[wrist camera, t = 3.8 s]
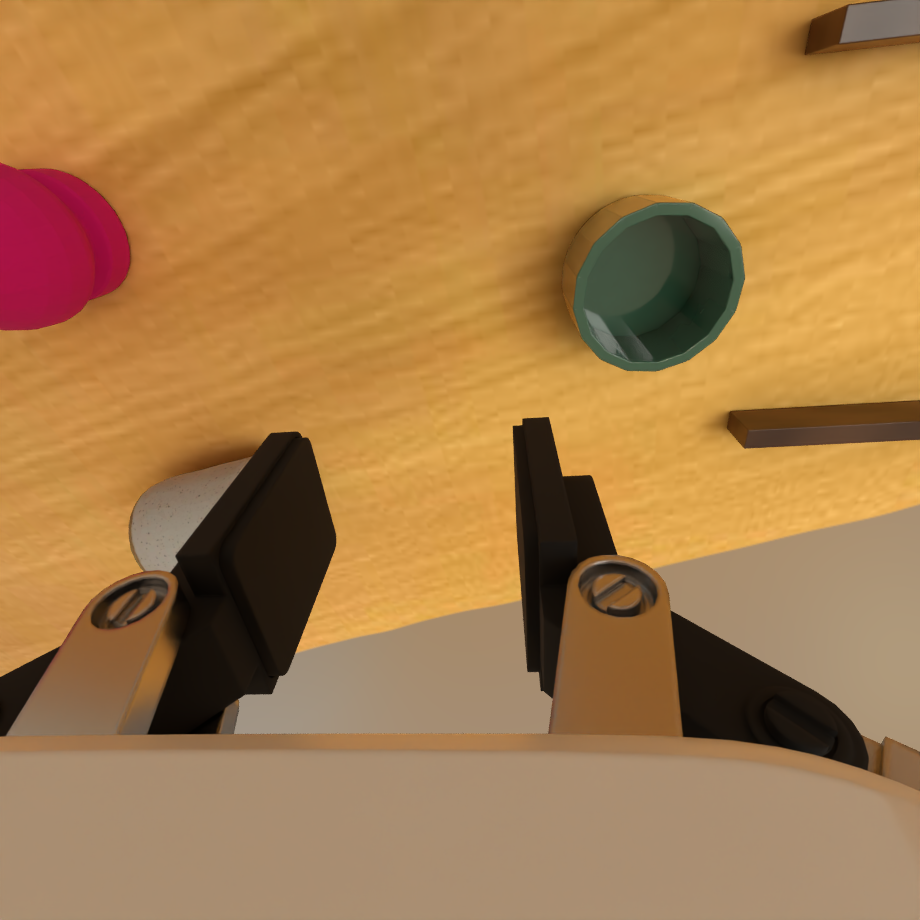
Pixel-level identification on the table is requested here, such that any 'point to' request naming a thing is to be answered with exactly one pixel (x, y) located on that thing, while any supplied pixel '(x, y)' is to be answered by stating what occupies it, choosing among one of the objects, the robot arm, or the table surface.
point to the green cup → (652, 281)
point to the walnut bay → (848, 28)
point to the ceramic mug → (176, 513)
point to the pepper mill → (55, 247)
